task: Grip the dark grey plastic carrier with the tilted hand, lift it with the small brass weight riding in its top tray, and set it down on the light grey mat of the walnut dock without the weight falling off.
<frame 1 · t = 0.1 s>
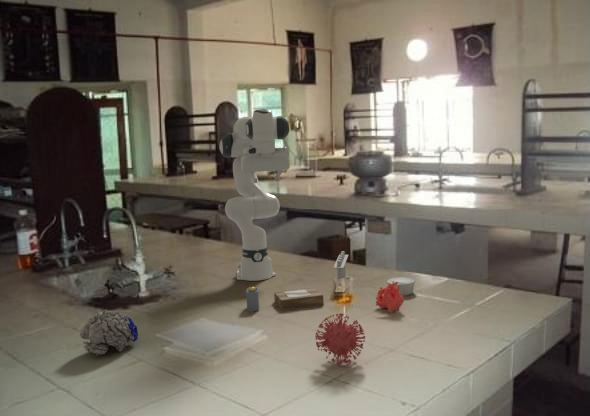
hand: (266, 182, 260), 48 cm above the countertop, tool pointing down, fingers open, 8 cm apart
test tube rack: (342, 285, 277), on the countertop
protein model: (389, 310, 239), on the countertop
carrier: (253, 308, 248), on the countertop, touching brass weight
educational model: (111, 350, 208), on the countertop
dock: (298, 303, 252), on the countertop
brass weight: (252, 291, 247), point 7 cm above the countertop, touching carrier
virus model: (341, 363, 189), on the countertop
ramekin: (401, 293, 260), on the countertop
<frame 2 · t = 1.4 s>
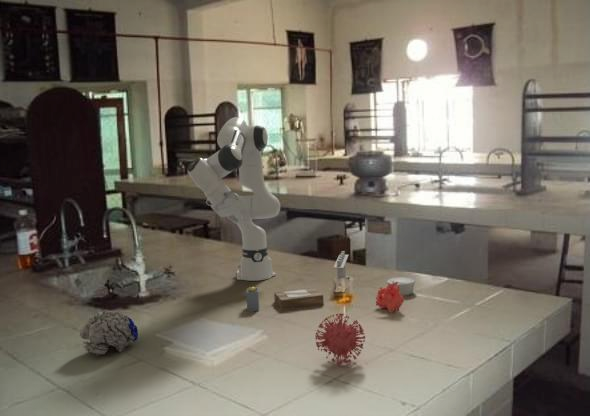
hand: (242, 221, 246), 35 cm above the countertop, tool tilted 35°, fingers open, 8 cm apart
nothing on the countertop moved.
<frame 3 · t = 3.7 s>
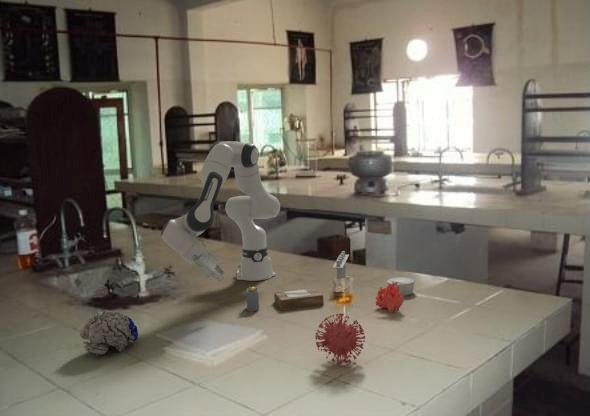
hand: (222, 276, 245), 14 cm above the countertop, tool tilted 45°, fingers open, 8 cm apart
nothing on the countertop moved.
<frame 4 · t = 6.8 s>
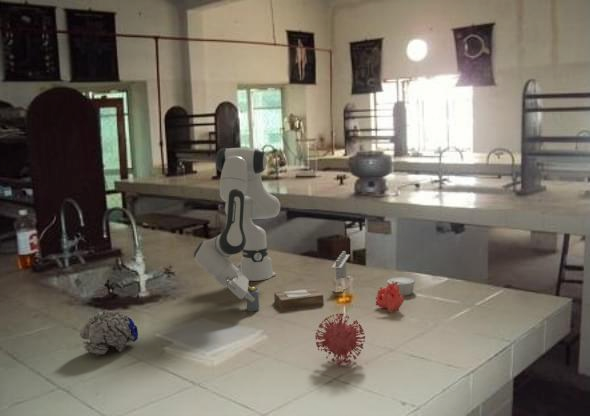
hand: (254, 297, 247), 4 cm above the countertop, tool tilted 45°, fingers closed on carrier, 5 cm apart
carrier: (253, 308, 248), on the countertop, touching brass weight, gripper
everything else where it was.
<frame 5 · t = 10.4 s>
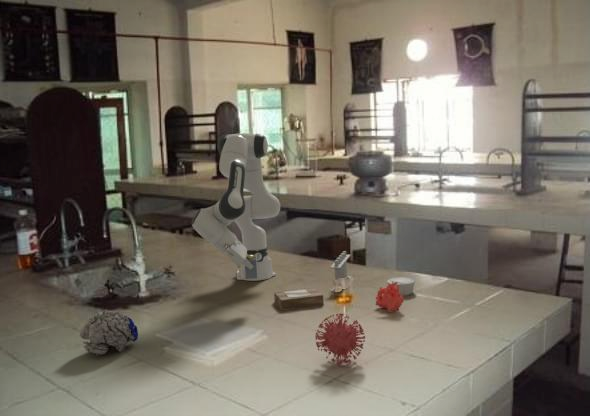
hand: (252, 265, 245), 17 cm above the countertop, tool tilted 45°, fingers closed on carrier, 5 cm apart
carrier: (251, 276, 246), point 13 cm above the countertop, touching brass weight, gripper
brass weight: (250, 259, 245), point 20 cm above the countertop, touching carrier
everything else where it was.
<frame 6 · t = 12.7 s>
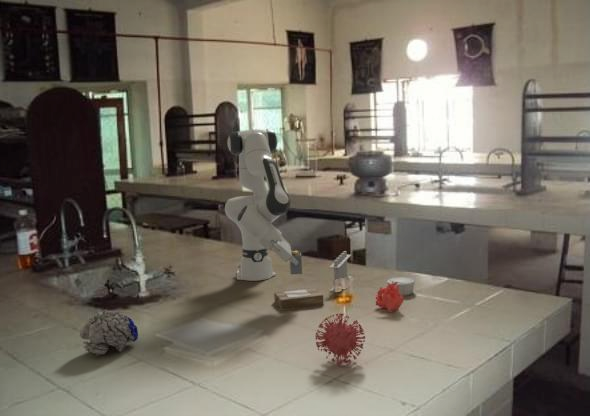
hand: (297, 261, 249), 17 cm above the countertop, tool tilted 45°, fingers closed on carrier, 5 cm apart
carrier: (296, 272, 250), point 13 cm above the countertop, touching brass weight, gripper
brass weight: (295, 255, 249), point 20 cm above the countertop, touching carrier
everything else where it was.
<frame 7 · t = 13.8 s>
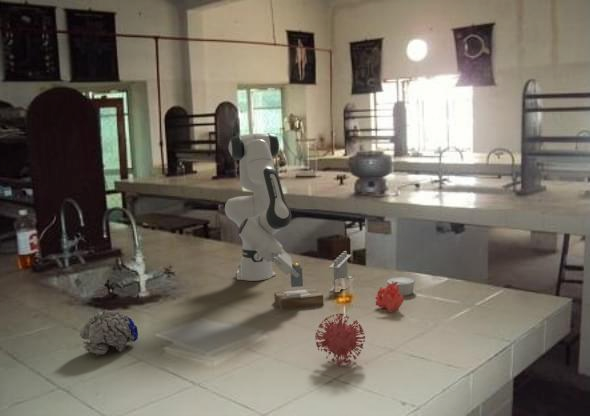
hand: (297, 274, 250), 12 cm above the countertop, tool tilted 45°, fingers closed on carrier, 5 cm apart
carrier: (296, 284, 250), point 8 cm above the countertop, touching brass weight, gripper
brass weight: (296, 267, 249), point 15 cm above the countertop, touching carrier
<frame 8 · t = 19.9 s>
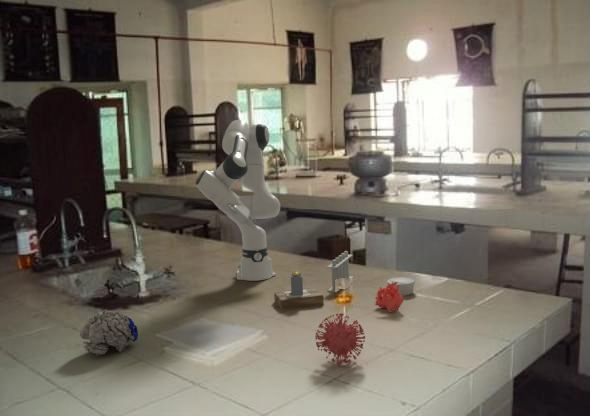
hand: (255, 225, 254), 31 cm above the countertop, tool tilted 45°, fingers open, 8 cm apart
carrier: (297, 293, 251), point 4 cm above the countertop, touching brass weight, dock
brass weight: (296, 276, 250), point 11 cm above the countertop, touching carrier
at the end: carrier inside the target area (0.5 cm from its centre), point 4.2 cm above the countertop; brass weight 0.0 cm off-centre on the carrier, point 7.0 cm above the carrier's base; carrier tilted 0° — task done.
